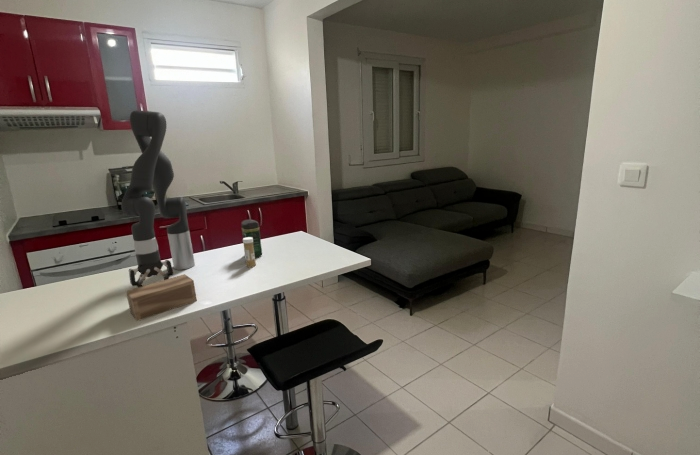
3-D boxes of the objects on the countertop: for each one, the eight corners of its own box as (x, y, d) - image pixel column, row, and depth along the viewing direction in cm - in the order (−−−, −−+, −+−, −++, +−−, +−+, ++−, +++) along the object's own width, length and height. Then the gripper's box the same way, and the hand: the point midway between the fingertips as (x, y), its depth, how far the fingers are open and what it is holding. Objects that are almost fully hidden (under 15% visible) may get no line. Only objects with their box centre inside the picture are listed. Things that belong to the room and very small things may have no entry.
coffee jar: (264, 256, 178) (260, 220, 174) (248, 259, 174) (244, 223, 170) (258, 251, 186) (254, 217, 182) (243, 254, 182) (238, 219, 178)
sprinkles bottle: (257, 265, 166) (254, 238, 162) (247, 268, 164) (244, 240, 160) (254, 263, 170) (250, 236, 166) (244, 265, 167) (241, 238, 164)
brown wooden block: (130, 312, 126) (125, 290, 124) (188, 293, 139) (184, 274, 137) (137, 320, 120) (132, 298, 118) (196, 300, 133) (193, 280, 131)
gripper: (164, 243, 139) (171, 282, 143) (122, 252, 129) (131, 293, 133) (170, 247, 133) (177, 287, 138) (127, 257, 124) (136, 299, 128)
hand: (154, 290), depth 135 cm, fingers open, 8 cm apart
